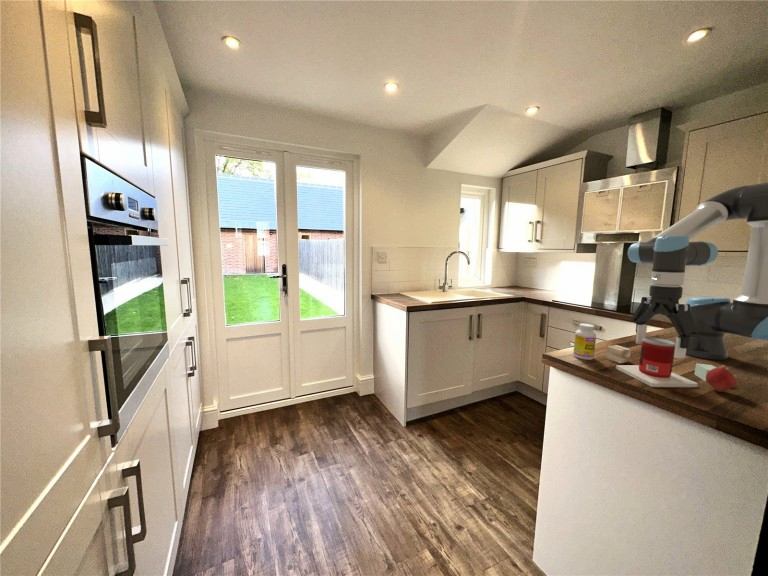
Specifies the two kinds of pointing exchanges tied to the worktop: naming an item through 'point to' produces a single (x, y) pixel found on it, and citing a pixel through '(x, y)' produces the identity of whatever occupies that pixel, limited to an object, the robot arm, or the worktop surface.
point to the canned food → (656, 357)
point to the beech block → (618, 354)
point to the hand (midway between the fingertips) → (658, 350)
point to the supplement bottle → (585, 342)
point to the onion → (720, 379)
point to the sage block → (703, 370)
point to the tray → (656, 378)
